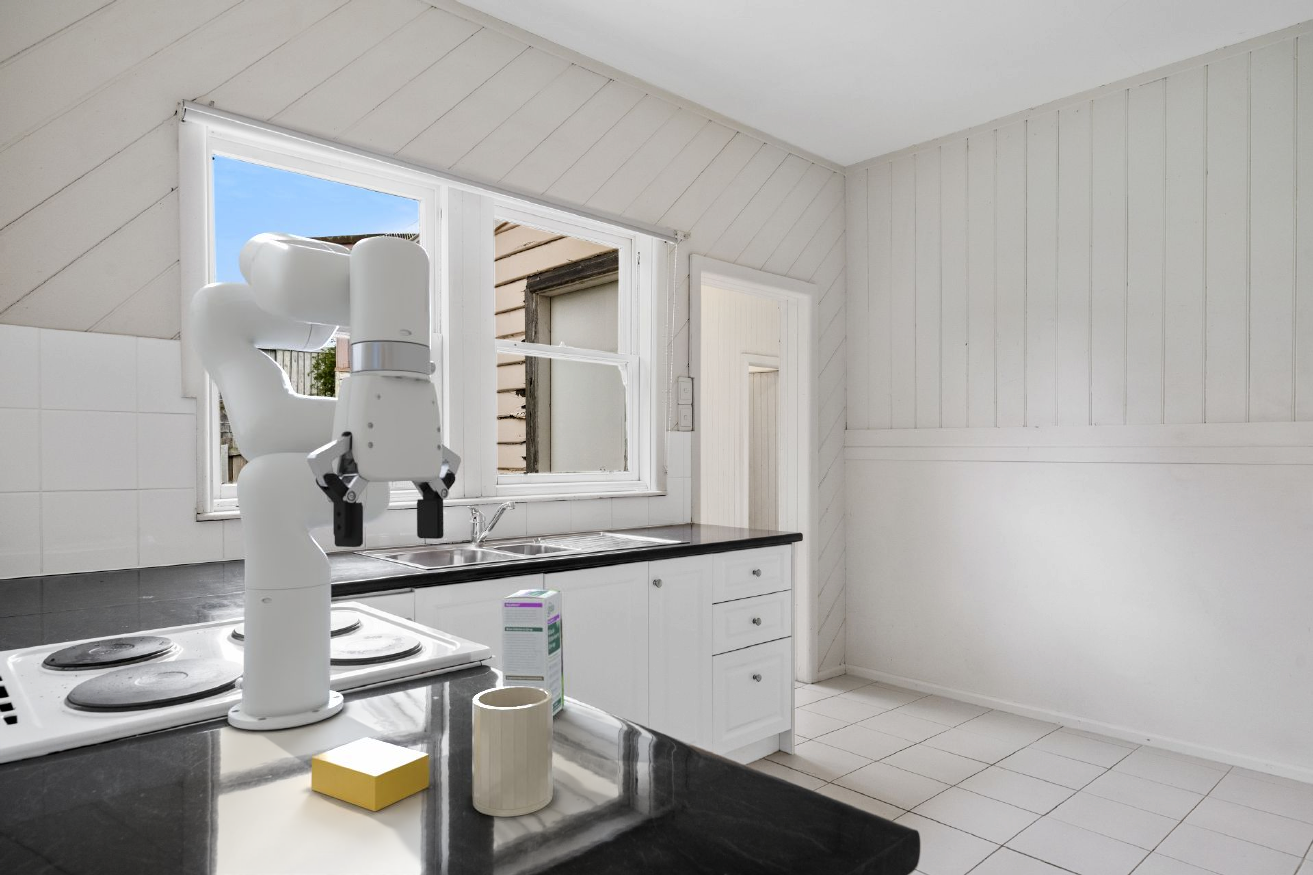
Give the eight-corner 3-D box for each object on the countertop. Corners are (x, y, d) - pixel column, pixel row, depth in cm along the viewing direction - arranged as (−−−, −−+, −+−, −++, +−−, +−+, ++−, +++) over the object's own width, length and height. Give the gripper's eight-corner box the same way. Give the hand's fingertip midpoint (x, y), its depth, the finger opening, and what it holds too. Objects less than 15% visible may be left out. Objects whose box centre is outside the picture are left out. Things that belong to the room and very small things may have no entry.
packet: (310, 789, 70) (311, 756, 70) (366, 767, 75) (366, 736, 75) (374, 811, 65) (375, 776, 65) (429, 786, 70) (429, 753, 70)
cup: (455, 804, 66) (455, 701, 67) (510, 777, 72) (510, 681, 73) (515, 824, 63) (515, 713, 63) (568, 792, 69) (568, 692, 69)
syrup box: (548, 723, 88) (548, 596, 88) (500, 720, 89) (500, 595, 89) (564, 707, 93) (564, 589, 94) (519, 705, 94) (519, 588, 95)
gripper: (431, 379, 84) (432, 535, 83) (285, 360, 69) (284, 549, 68) (481, 373, 80) (483, 536, 79) (338, 351, 65) (338, 551, 64)
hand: (391, 542), depth 73 cm, fingers open, 9 cm apart
